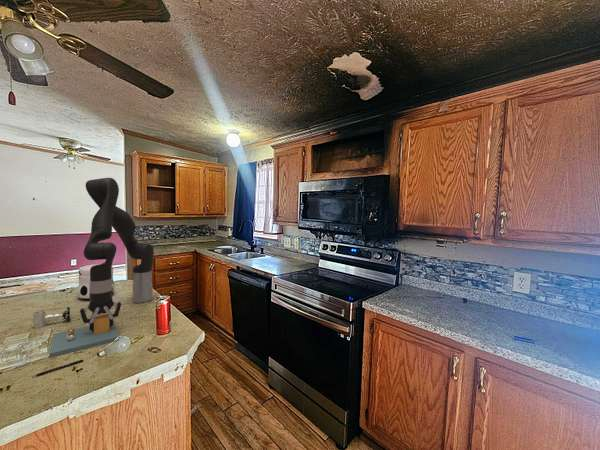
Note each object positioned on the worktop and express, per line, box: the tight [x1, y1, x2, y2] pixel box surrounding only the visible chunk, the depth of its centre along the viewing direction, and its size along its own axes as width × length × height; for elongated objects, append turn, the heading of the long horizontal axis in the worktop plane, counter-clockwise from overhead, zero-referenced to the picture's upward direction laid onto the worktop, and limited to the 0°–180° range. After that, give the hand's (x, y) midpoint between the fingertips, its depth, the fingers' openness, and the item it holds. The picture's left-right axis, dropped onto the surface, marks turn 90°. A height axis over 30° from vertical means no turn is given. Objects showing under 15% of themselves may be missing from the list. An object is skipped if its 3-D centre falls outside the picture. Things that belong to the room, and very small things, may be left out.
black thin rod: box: [31, 359, 84, 379], centre depth 84 cm, size 12×1×1 cm, turn 138°
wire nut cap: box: [94, 313, 110, 334], centre depth 106 cm, size 5×5×6 cm
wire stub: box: [67, 328, 76, 341], centre depth 99 cm, size 3×3×4 cm
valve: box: [32, 306, 71, 329], centre depth 114 cm, size 7×7×12 cm
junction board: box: [48, 320, 119, 358], centre depth 103 cm, size 20×18×2 cm
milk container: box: [76, 263, 116, 300], centre depth 148 cm, size 17×17×18 cm
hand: (101, 328), depth 106 cm, fingers closed on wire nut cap, 5 cm apart
